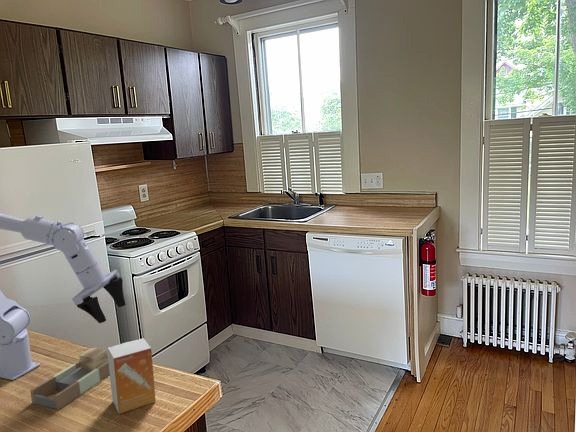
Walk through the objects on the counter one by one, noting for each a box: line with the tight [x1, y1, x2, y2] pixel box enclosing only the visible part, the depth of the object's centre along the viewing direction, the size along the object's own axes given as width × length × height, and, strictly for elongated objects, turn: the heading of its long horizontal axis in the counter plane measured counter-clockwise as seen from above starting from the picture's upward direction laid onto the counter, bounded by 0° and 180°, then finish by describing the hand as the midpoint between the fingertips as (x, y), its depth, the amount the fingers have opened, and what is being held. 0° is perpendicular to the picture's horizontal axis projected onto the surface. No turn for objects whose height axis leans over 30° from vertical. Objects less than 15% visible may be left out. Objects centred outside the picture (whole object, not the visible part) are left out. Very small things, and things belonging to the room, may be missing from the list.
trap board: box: [29, 359, 110, 410], centre depth 106 cm, size 8×20×3 cm, turn 159°
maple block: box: [78, 347, 108, 371], centre depth 110 cm, size 4×4×4 cm
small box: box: [106, 337, 156, 415], centre depth 97 cm, size 8×6×13 cm
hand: (112, 313), depth 114 cm, fingers open, 7 cm apart
